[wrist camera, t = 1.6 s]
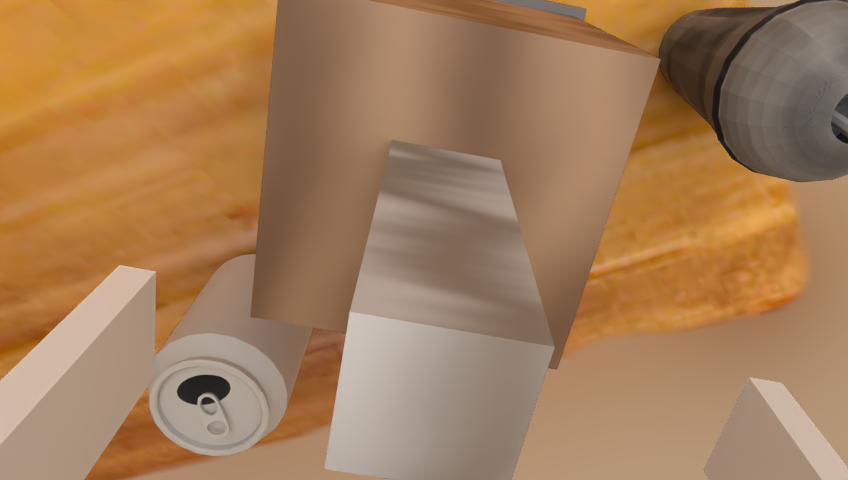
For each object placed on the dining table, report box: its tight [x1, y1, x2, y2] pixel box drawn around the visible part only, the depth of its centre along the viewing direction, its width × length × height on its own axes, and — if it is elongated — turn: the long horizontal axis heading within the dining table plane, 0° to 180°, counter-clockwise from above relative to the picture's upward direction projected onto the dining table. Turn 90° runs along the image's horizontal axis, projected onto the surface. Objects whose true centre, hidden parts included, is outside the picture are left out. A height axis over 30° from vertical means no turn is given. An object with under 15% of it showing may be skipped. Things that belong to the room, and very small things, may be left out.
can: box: [148, 254, 313, 456], centre depth 38 cm, size 8×8×12 cm
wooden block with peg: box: [250, 0, 661, 480], centre depth 25 cm, size 13×13×27 cm
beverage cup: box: [659, 0, 848, 182], centre depth 27 cm, size 7×7×20 cm
